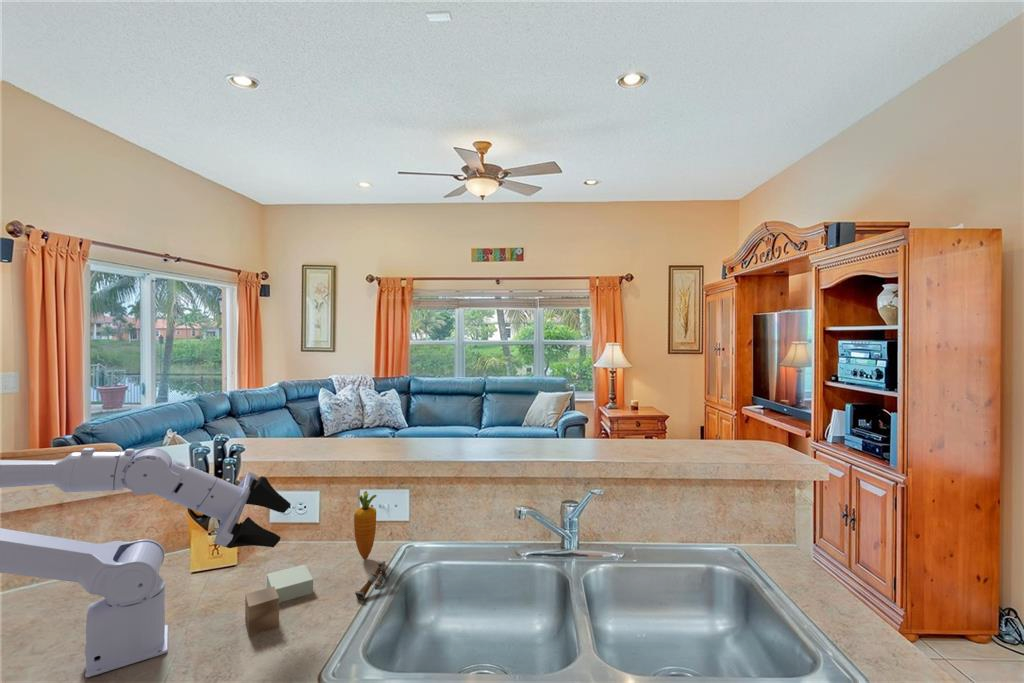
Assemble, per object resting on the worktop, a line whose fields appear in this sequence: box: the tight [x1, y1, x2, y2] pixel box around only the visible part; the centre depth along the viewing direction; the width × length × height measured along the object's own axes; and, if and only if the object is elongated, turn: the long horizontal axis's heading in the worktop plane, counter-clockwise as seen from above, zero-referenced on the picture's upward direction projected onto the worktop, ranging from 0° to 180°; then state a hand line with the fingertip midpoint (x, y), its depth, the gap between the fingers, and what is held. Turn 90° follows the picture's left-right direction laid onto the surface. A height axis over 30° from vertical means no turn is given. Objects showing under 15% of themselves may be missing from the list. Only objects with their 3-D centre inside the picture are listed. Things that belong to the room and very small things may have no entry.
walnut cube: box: [244, 586, 280, 637], centre depth 80 cm, size 4×4×5 cm
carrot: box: [353, 490, 377, 561], centre depth 103 cm, size 5×5×15 cm
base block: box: [266, 564, 314, 604], centre depth 91 cm, size 7×7×3 cm
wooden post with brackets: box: [354, 560, 389, 601], centre depth 91 cm, size 2×8×4 cm, turn 157°
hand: (282, 524), depth 84 cm, fingers open, 7 cm apart
